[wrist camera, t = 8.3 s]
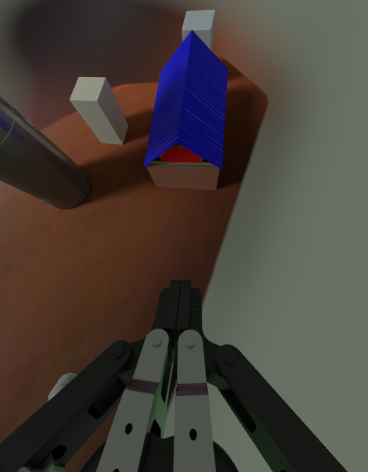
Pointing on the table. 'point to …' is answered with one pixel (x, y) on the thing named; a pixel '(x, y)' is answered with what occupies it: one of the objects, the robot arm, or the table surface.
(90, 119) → the cream block
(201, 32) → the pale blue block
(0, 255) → the table surface
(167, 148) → the house
